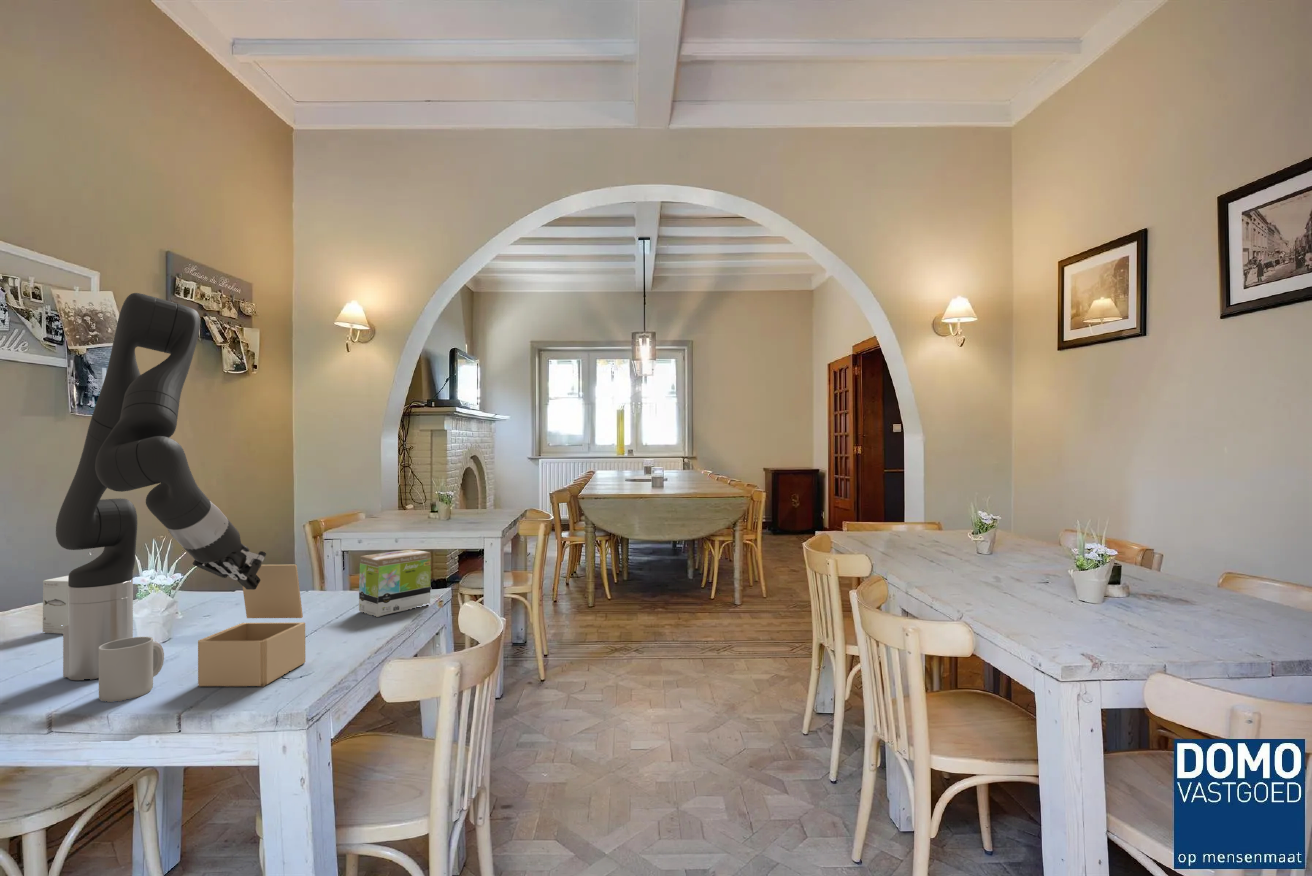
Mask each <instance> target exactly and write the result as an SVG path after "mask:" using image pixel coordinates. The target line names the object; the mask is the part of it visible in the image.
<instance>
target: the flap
mask: <svg viewBox="0 0 1312 876" xmlns="http://www.w3.org/2000/svg"><path fill="white" fill-rule="evenodd" d="M256 575H257V576H258V577H259V578H260V580H261V581H260V583H259V584H258V586H257V588H256V589H255V590H247V589H246V588H245V587H244V586H242V592H243V600H244V601H243V602H244V609H245V615H246V619H302V618H304V615H303V614H304V613H303V606H302V597H301V590H300V583H299V581H300V580H299V572H298V565H297V564H293V563H292V564H289V563H288V564H262V565H261V567H260V568H259V570H258V572H257V574H256Z"/></svg>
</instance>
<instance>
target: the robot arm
mask: <svg viewBox="0 0 1312 876" xmlns="http://www.w3.org/2000/svg"><path fill="white" fill-rule="evenodd" d="M200 330H201V317H200V314H199V312H198V310H196V309H194V308H192V307H189V306H186V305H184V304H180V303H177V302H174V301H170V300H166V299H162V298H159V297H155V296H152V295H148V294H144V293H141V292H139V293H138V292H134V293H130V294H129V295H127V297H126V298H125V299H124V302H122V306H121V309H120V311H119V315H118V320H117V323H116V328H115V332H114V336H113V337H114V338H113V343H112V348H111V351H110V357H109V361H108V365H107V369H106V373H105V376H104V380H103V383H102V386H101V389H100V392H99V395H98V398H97V401H96V403H95V407H94V409H93V412H92V416H91V419H90V421H89V425H88V428H87V433H86V437H85V441H84V445H83V450H82V451H81V452H82V453H81V456H80V460H79V463H78V466H77V468H76V471H75V474H74V476H73V479H72V481H71V483H70V486H69V488H68V491H67V493H66V495H65V498H64V499H63V501H62V504H61V507H60V509H59V513H58V515H57V518H56V524H55V537H56V541H57V543H58V545H59V546H60V547H61V548H63V549H65V550H69V551H70V550H71V551H81V550H90V549H97V548H98V549H99V548H103V550H102V552H101V554H100V555H98V556H97V557H96V558H94V559H92V560H91V561H90V562H89V561H88V562H87V563H85V564H83V565H80V566H78V567H77V568H74V569H73V570H71V571H70V572H69V574H68V576H69V577H68V586H69V588H68V602H69V625H67V626H65V627H64V628H63V635H62V636H63V637H62V640H63V641H62V648H63V649H62V650H63V651H62V677H63V678H67V679H68V680H71V681H85V680H84V679H90V680H95V679H99V647H100V646H101V645H103V644H106V643H109V642H112V641H116V640H121V639H126V638H133V637H134V579H133V578H134V568H135V565H136V553H137V552H136V550H137V539H138V536H137V535H138V515H137V514H138V512H137V510H136V507H135V505H134V504H133V502H132V501H130V500H129V499H127V498H121V497H119V498H105V499H103V498H102V497H103V495H104V493H105V491H106V490H107V489H109V490H111V491H113V492H120V493H121V492H130V491H134V490H137V489H142V488H146V487H150V486H154V485H156V486H154V487H152V488H151V490H149V492H148V493H147V495H146V497H145V505H146V507H147V509H148V510H149V512H150V513H151V514H152V515H153V516H154V517H156V519H157V521H159V522H160V523H161V524H162V526H164V528H165V529H167V531H168V533H169V535H171V537H172V538H173V539H174V540H175V541H176V542H177V543H178V544H179V545H180V546H181V547H182V548H183V549H184V551H186V552H187V553H188V554H189V555H190V556H191V557H192V558H193V559H194V560H193V562H192V565H193V566H194V567H198V568H199V569H202V570H204V571H206V572H209V573H210V574H213V575H215V576H218V577H220V578H223V579H227V578H228V577H229V578H231V579H232V580H235V581H237V582H238V583H239V584H240V585H241V586H242V587H243V586H244V587H245V588H246V589H247V590H255V589H256V588H257V586H258V584H259V583H260V581H261V580H260V578H259V577H258V576H257V575H256V574H257V572H258V570H259V568H260V567H261V565H263V563H264V560H265V558H266V556H267V553H266V552H265V551H263V550H262V551H259V552H258V553H254V552H251V551H250V549H249V547H248V546H246V545H245V544H243V543H242V542H241V534H240V532H239V530H238V529H237V528H236V526H234V524H233V523H232V522H231V521H230V520H229V518H227V516H226V515H225V514H224V513H223V512H222V510H221V509H220V508H219V507H218V506H217V505H215V504H214V502H212V501H211V500H210V499H209V498H208V497H207V495H206V494H205V493H204V491H203V490H202V489H201V488H200V487H199V486H198V484H197V482H196V480H195V478H194V476H193V473H192V471H191V469H190V465H189V462H188V459H187V456H186V453H185V451H184V448H183V447H182V445H181V444H180V443H179V442H178V441H176V440H175V439H172V438H171V437H172V436H173V435H174V433H175V432H176V429H177V425H178V417H179V408H180V400H181V395H182V390H183V389H184V388H183V387H184V384H185V383H186V380H187V377H188V374H189V371H190V368H191V364H192V360H193V357H194V354H195V351H196V347H197V342H198V339H199V337H200ZM137 347H139V348H143V349H146V350H151V351H156V352H160V353H164V354H169V356H168V357H167V358H166V359H164V360H163V361H161V362H160V363H157V365H155V366H153V367H152V368H150V369H148V370H146V371H145V372H143V373H142V374H141V372H140V369H139V366H138V363H137V358H136V348H137ZM130 580H131V582H130Z"/></svg>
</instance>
